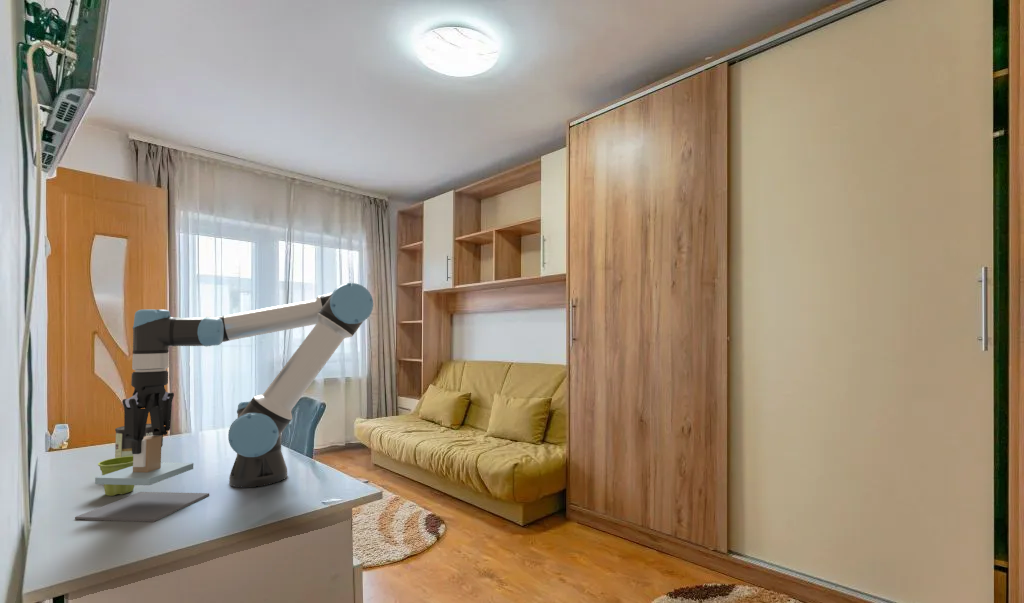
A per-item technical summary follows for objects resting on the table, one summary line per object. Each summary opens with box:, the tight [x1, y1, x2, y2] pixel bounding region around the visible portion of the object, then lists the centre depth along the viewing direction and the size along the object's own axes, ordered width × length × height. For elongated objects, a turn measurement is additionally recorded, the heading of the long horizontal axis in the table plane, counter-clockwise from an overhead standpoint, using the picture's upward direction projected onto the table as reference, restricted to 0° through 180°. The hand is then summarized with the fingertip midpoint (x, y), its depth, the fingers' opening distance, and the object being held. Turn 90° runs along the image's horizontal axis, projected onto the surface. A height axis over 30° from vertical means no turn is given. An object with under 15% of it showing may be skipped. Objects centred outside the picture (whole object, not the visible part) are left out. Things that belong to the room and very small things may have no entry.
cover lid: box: [94, 436, 194, 486], centre depth 124 cm, size 14×14×10 cm
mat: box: [74, 491, 210, 523], centre depth 124 cm, size 20×18×1 cm
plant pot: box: [97, 456, 135, 497], centre depth 136 cm, size 9×9×9 cm
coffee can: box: [114, 423, 153, 458], centre depth 156 cm, size 10×10×14 cm
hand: (147, 463), depth 124 cm, fingers closed on cover lid, 4 cm apart
